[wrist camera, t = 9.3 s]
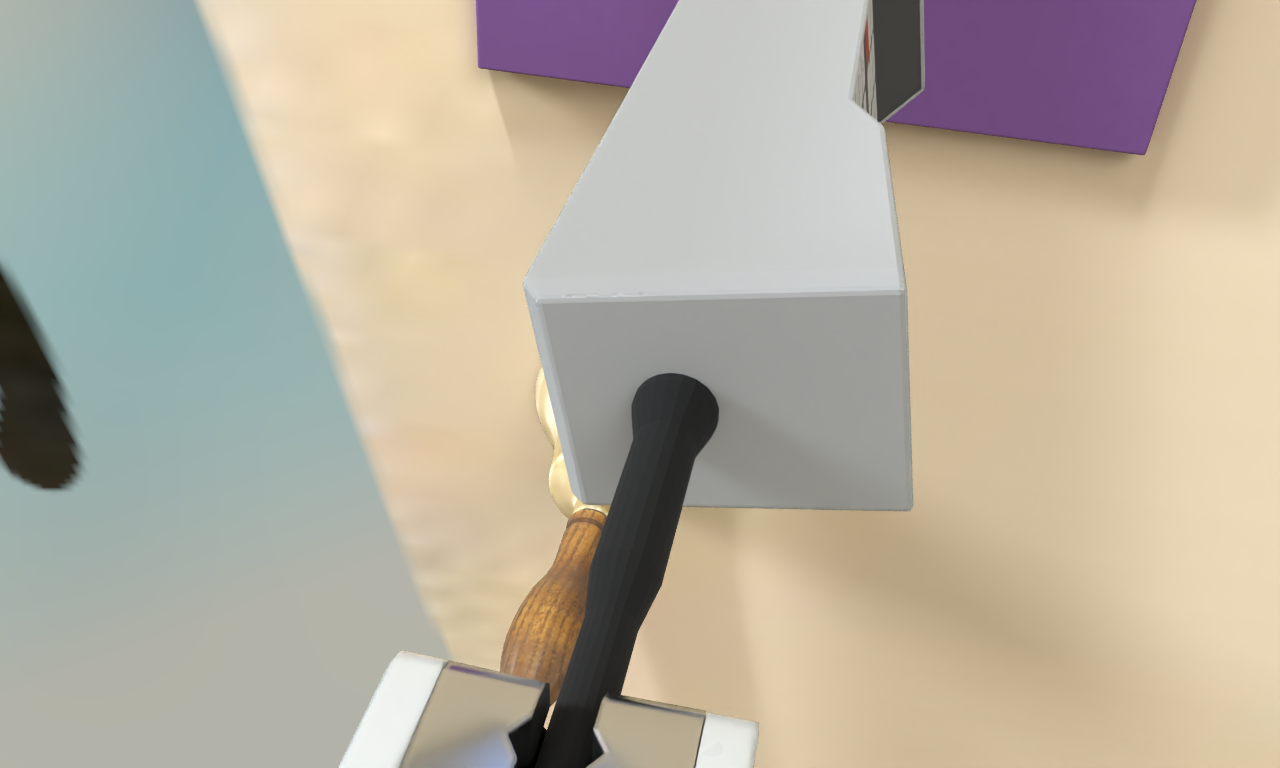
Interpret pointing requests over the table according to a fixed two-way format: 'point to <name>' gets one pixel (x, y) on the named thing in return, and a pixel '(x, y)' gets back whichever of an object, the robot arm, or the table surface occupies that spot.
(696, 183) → the vintage mobile phone
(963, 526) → the table surface
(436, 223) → the table surface
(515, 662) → the hand bell
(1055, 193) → the table surface
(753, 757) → the robot arm
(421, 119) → the table surface
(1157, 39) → the mat
